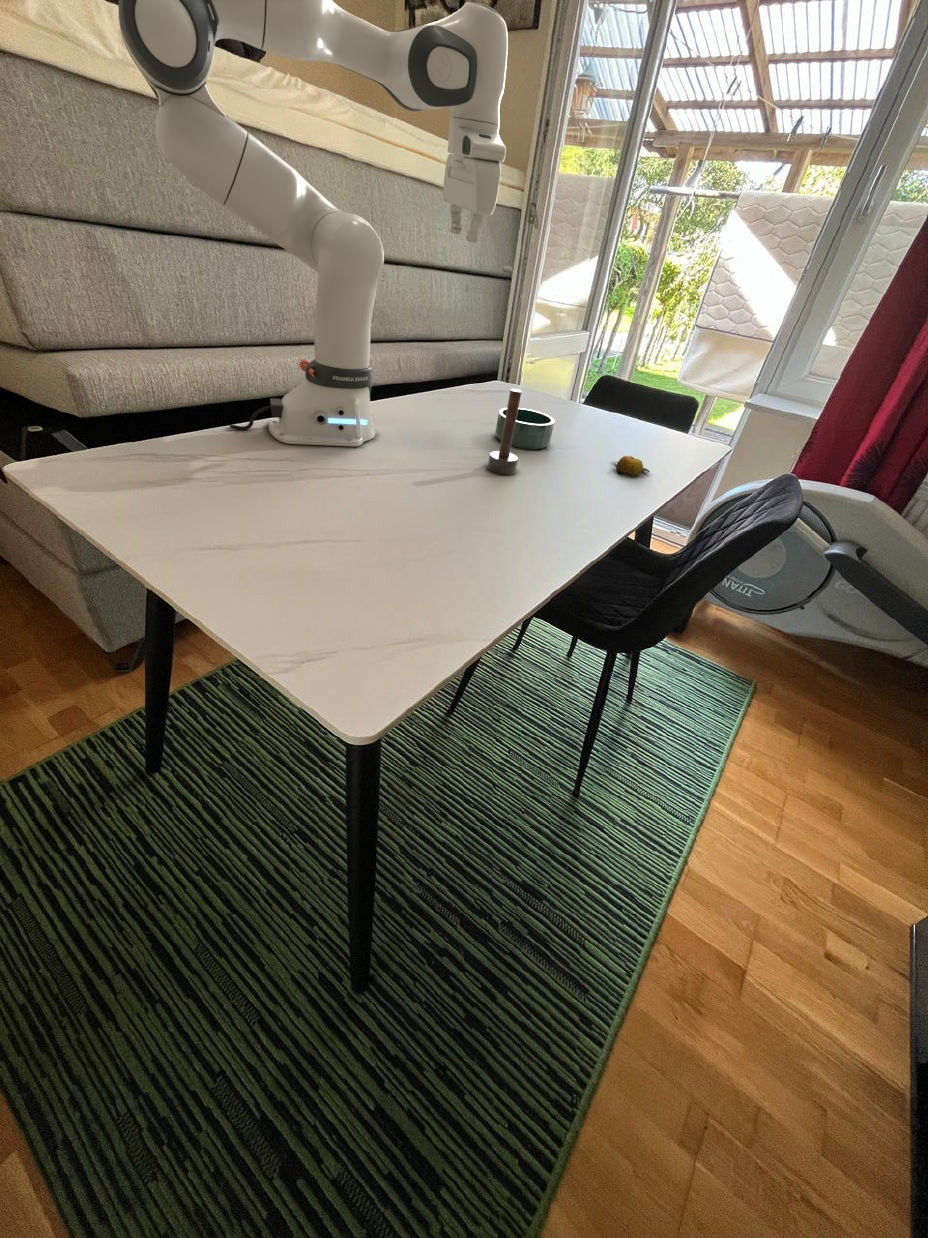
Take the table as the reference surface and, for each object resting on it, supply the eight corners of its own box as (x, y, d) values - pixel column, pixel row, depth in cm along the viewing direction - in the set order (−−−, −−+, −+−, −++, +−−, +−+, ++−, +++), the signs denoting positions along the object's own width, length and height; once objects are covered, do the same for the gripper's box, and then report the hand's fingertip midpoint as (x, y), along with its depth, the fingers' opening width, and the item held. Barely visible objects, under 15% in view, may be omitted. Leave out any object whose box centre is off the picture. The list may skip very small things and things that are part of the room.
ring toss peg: (496, 475, 107) (511, 394, 97) (482, 465, 111) (495, 385, 101) (520, 474, 109) (537, 395, 100) (506, 463, 113) (520, 386, 104)
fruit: (649, 472, 122) (655, 457, 120) (642, 481, 116) (647, 465, 114) (616, 462, 125) (621, 447, 123) (607, 471, 119) (611, 455, 117)
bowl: (512, 451, 121) (518, 425, 117) (485, 432, 130) (489, 407, 127) (559, 449, 127) (565, 424, 123) (529, 431, 136) (534, 407, 133)
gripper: (438, 138, 99) (432, 227, 108) (475, 143, 85) (465, 245, 95) (469, 143, 101) (461, 230, 110) (510, 149, 88) (496, 248, 97)
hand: (463, 237), depth 102 cm, fingers open, 8 cm apart
